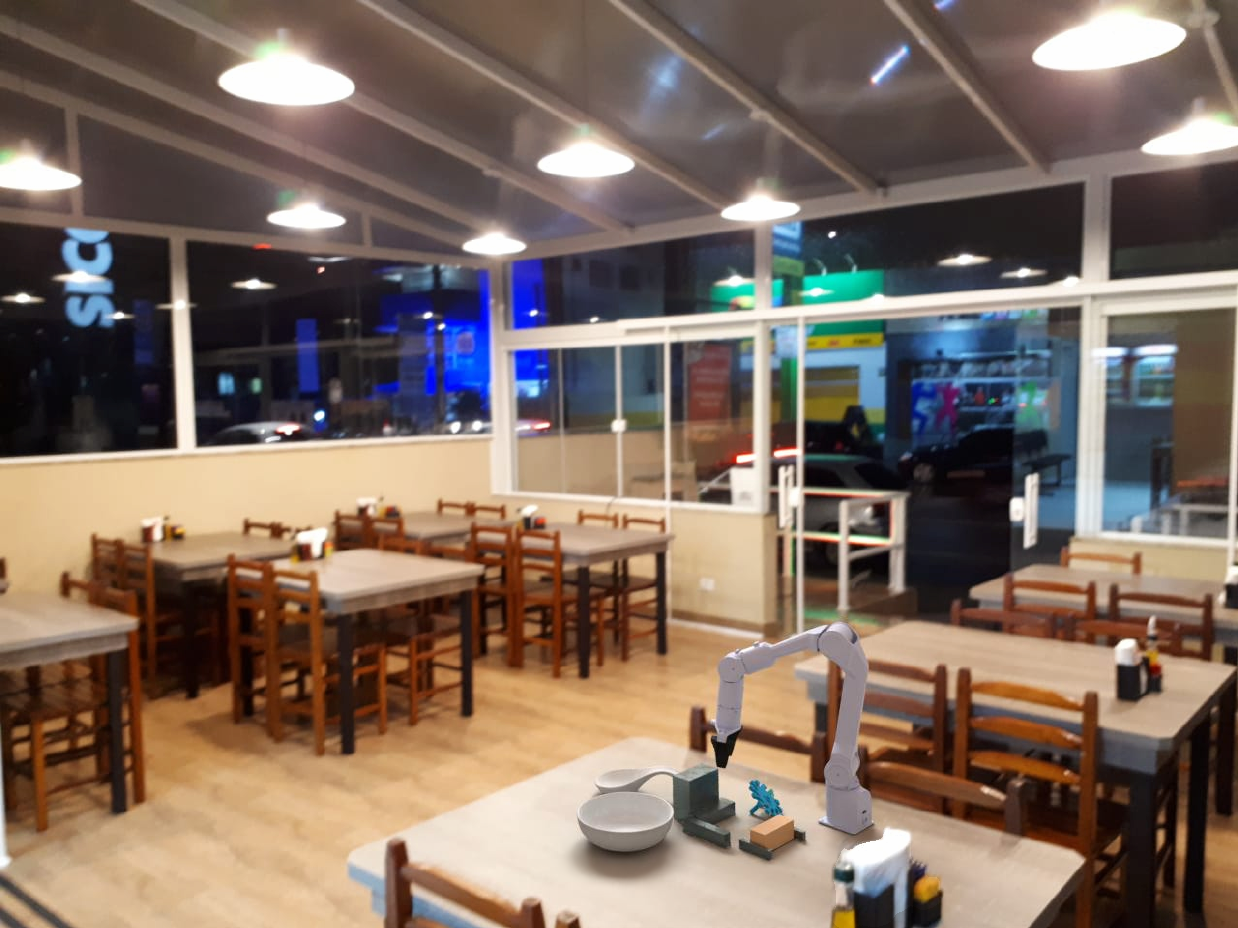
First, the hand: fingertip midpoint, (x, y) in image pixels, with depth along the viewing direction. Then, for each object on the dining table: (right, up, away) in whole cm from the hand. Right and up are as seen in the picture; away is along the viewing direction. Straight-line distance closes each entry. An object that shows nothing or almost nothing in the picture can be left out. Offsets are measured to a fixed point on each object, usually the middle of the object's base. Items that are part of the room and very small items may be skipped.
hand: (724, 760), depth 222 cm
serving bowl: (-23, -13, -16) cm, 31 cm away
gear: (+9, -11, -5) cm, 15 cm away
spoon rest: (-19, -11, +9) cm, 23 cm away
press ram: (+8, -12, -20) cm, 24 cm away
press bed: (0, -11, -13) cm, 17 cm away
